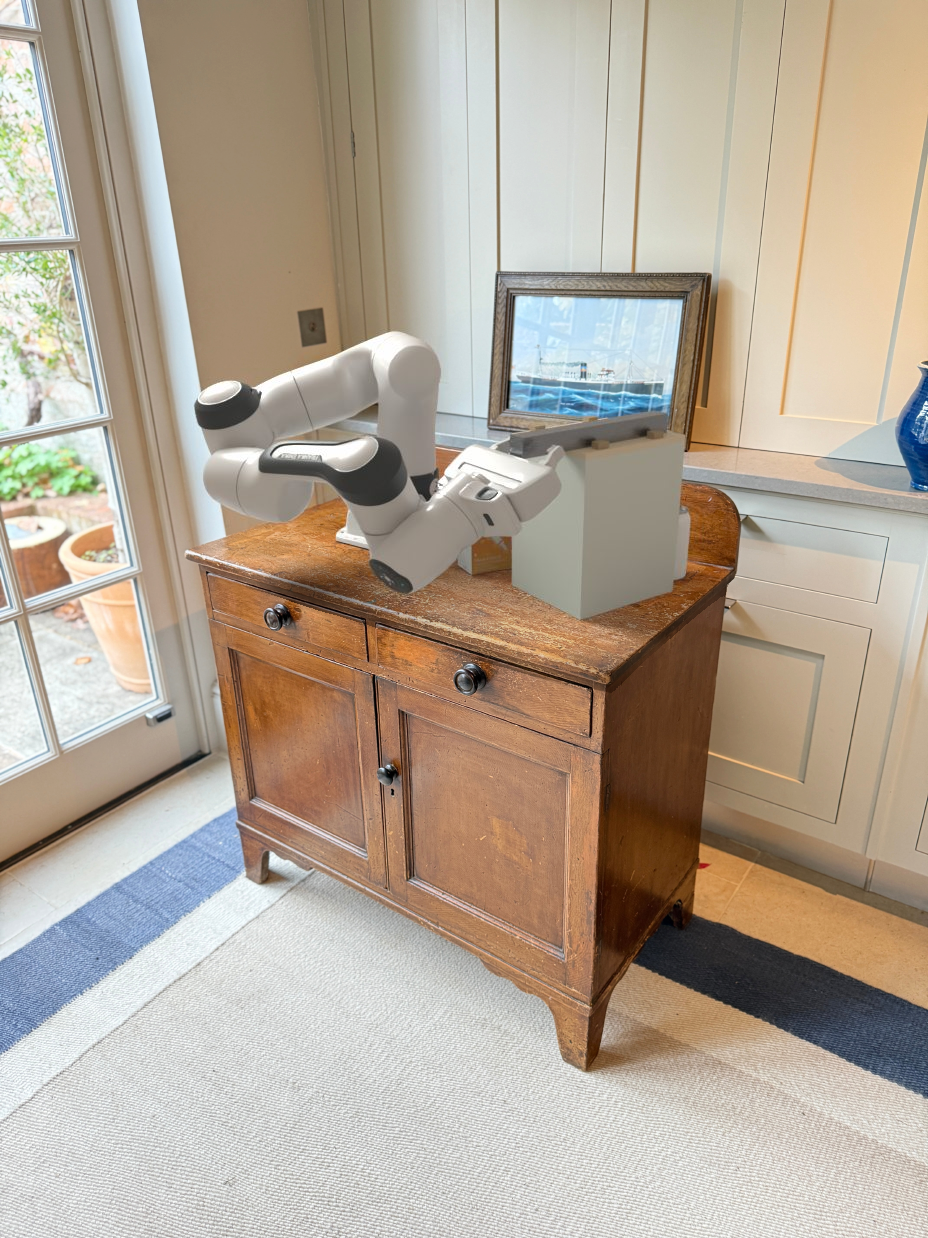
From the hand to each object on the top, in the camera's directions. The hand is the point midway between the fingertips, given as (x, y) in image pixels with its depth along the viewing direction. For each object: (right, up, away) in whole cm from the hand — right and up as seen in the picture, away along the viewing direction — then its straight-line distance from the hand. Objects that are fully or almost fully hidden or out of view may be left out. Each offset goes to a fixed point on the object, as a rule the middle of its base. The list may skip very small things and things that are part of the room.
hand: (539, 442), depth 121 cm
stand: (+11, -20, +22) cm, 32 cm away
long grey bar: (+8, +1, +6) cm, 10 cm away
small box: (-7, -16, +33) cm, 37 cm away
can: (+25, -18, +27) cm, 41 cm away
